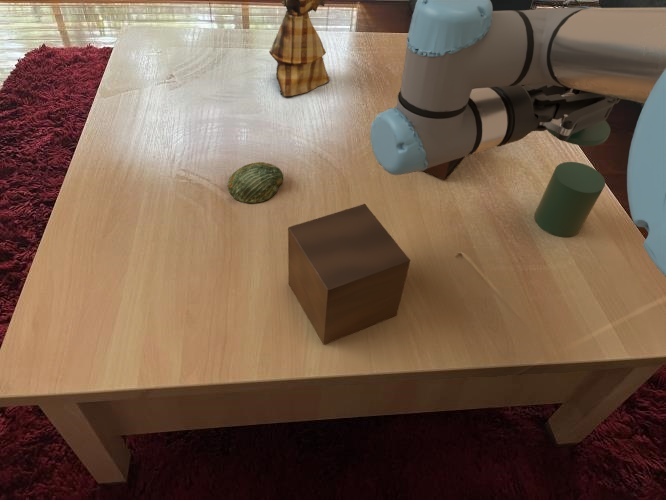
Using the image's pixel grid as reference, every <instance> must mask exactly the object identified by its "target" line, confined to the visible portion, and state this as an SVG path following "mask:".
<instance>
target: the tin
mask: <svg viewBox="0 0 666 500" xmlns="http://www.w3.org/2000/svg"><path fill="white" fill-rule="evenodd" d="M605 186H606V180H605V178H604V176H603V175H602V174H601V172H599V171H598V170H597V169H595V168H593V167H592V166H590V165H587V164H586V163H585V164H584V163H582V162H578V161H565V162H561V163H559V164H558V165H556V166H555V168H554V170H553V173H552V174H551V177H550V179H549V181H548V183H547V186H546V188H545V190H544V192H543V194H542V197H541V199H540V201H539V203H538V205H537V207H536V210H535V212H534V220H535V221H534V222H535V223H536V225H537V226H538V227H539V228H540V229H541V230H543V231H545V232H546V233H548V234H549V235H552V236H555V237H559V238H570V237H574V236H576V235H577V234H579V232H580V231H581V230H582V227H583V225H584V224H585V222H586V220H587V219H588V217H589V215H590V213H591V212H592V210H593V208H594V206H595V204H596V202H597V201H598V199H599V197H600V195H601V194H602V192H603V191H604V188H605Z"/></svg>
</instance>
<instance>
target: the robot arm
mask: <svg viewBox="0 0 666 500" xmlns="http://www.w3.org/2000/svg"><path fill="white" fill-rule="evenodd" d="M493 9H494V7H493V3H492V1H491V0H416V2H415V6H414V11H413V13H412V16H411V21H410V25H409V29H408V33H407V35H406V36H407V37H406V46H405V47H406V49H405V54H404V62H403V69H402V76H401V84H400V88H399V91H398V95H397V98H396V99H397V100H396V105H395V106H394V107H388V109H386V110H384V111H381V112H379V113H377V115H376V116H375V118H374V120H372V122H371V125H370V131H369V133H370V134H369V135H370V144H371V149H372V153H373V155H374V157H375V160H376V161H377V163H378V164H379V165H380V166H381V167H382V168H383V170H384V171H385V172H386V173H388V174H389V175H390V174H391V175H394V176H402V175H406V174H412V173H415V172H425V171H424V170H426V169H427V168H430V167H433V166H436V165H439V164H442V163H445V162H448V161H452V160H455V159H458V158H461V157H465V158H466V157H468V156H470V155H475V154H477V153H481V152H484V151H487V150H491V149H494V148H497V147H502V146H505V145H509V144H511V143H515V142H518V141H521V140H522V139H524V138H526V137H527V136H528V135H529V134H531V133H532V132H545V131H547V129H550V130H553V131H555V132H557V133H559V134H558V137H556V138H557V139H558V140H559V141H561V142H565V141H566V140H568V138H569V137H570V136H571V134H573V133H576V132H578V131H580V130H583V129H585V128H587V127H590V126H592V125H594V124H597V123H599V122H602V121H604V120H605V121H607V119H608V117H609V116H610V113H611V112H612V110H613V107H614V105H617V104H618V103H619V102H620V101H622V100H625V101H631V102H636V103H641V104H643V107H642V109H641V112H640V114H639V116H638V119H637V121H636V125H635V128H634V131H633V134H632V139H631V142H630V146H629V151H628V152H629V153H628V159H627V169H626V191H627V201H628V206H629V211H630V216H631V219H632V221H633V225H635V226H636V227H639V228H644V229H645V230H646V232H647V233H648V234H647V237H646V238H645V240H644V241H643V243H642V247H643V249H644V251H645V252H646V254H647V255H648V257H649V258H650V260H651V262H653V264H654V265H655V266H656V268H657V269H658V270H659V272H661V273H662V275H663V276H664V277H665V278H666V7H590V6H586V5H585V6H584V5H578V6H566V7H557V8H556V7H555V8H554V7H553V8H539V9H526V10H525V9H523V10H516V9H515V10H510V9H509V10H493ZM580 90H582V91H587V92H590V93H583V94H579V91H580ZM570 92H571V93H572V94H570V95H566V94H568V93H570ZM563 95H564V96H563Z"/></svg>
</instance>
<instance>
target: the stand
mask: <svg viewBox="0 0 666 500" xmlns="http://www.w3.org/2000/svg"><path fill="white" fill-rule="evenodd" d="M287 235H288V236H287V257H288V258H287V261H288V263H287V264H288V265H287V267H288V272H287V274H288V276H287V278H288V279H287V280H288V282H287V283H288V286H289V288H290V289H291V291H292V293H293V295H294V296H295V298H296V300H297V301H298V303H299V305H300V306H301V308H302V310H303V312H304V313H305V315H306V317H307V319H308V320H309V323H310V324H311V325H312V328H313V329H314V331H315V332H316V335H317V336H318V338H319V339H320V341H321V343H322V345H326V344H327V345H328V344H329V343H331V342H335V341H336V340H339V339H341V338H344V337H347V336H349V335H351V334H354V333H357V332H360V331H361V330H364V329H366V328H368V327H371V326H373V325H374V326H375V325H376V324H378V323H382V322H383V321H386V320H388V319H391V318H394V317H396V316H397V315H398V312H399V308H400V304H401V300H402V295H403V293H404V288H405V284H406V279H407V275H408V272H409V268H410V263H411V259H410V258H409V256H408V255H407V254H406V253H405V251H403V249H402V248H401V246H399V244H398V243H397V242H396V240H395V239H394V238H393V236H392V235H390V233H389V232H388V231H387V229H386V228H385V226H384V225H383V224H382V223H381V222H380V221H379V220H378V218H377V217H376V216H375V215H374V213H373V212H372V210H371V209H370V208H369V207H368V206H367V204H366V203H363V204H360V205H356V206H353V207H350V208H346V209H343V210H340V211H337V212H334V213H331V214H327V215H323V216H321V217H317V218H315V219H314V218H313V219H310V220H308V221H307V220H306V221H304V222H301V223H298V224H295V225H291V226H288V227H287Z"/></svg>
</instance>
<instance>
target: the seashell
mask: <svg viewBox="0 0 666 500" xmlns="http://www.w3.org/2000/svg"><path fill="white" fill-rule="evenodd" d="M283 182H284V173H283V172H282V170H281V169H280V168H279V167H278V166H276V165H275V164H272V163H269V162H265V161H264V162H260V161H259V162H251V163H248V164H245V165H242V166H241V167H239V168H238V169H236V170H235V171H234V172H233V173H231V175H230V177H229V179H228V181H227V190H228V193H229V194H230V195H231V197H233V199H234V200H236V201H239V202H241V203H246V204H255V203H261V202H265V201H267V200H270V199H271V198H272V197H273V196H275V194H276V193H277V192H278V189H279V186H280V185H281V184H283Z"/></svg>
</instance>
